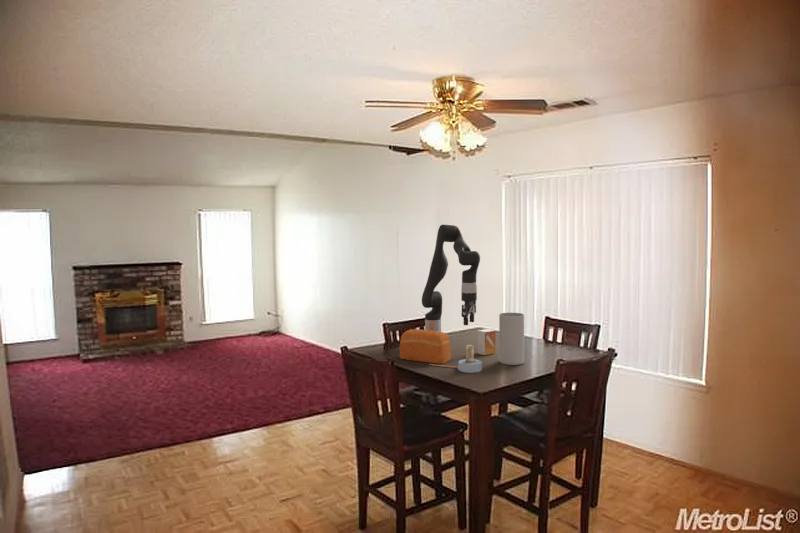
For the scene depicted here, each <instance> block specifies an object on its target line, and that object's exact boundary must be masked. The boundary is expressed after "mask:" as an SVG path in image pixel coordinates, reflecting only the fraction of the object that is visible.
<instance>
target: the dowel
mask: <svg viewBox="0 0 800 533" xmlns="http://www.w3.org/2000/svg"><path fill="white" fill-rule="evenodd" d="M474 350H475V349H474V345H472V344H467V345H465V353H466V354H465V359H466V363H474V359H475V358H474Z"/></svg>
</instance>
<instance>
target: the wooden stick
mask: <svg viewBox="0 0 800 533" xmlns="http://www.w3.org/2000/svg"><path fill="white" fill-rule="evenodd" d="M428 364H429V366H431V365H432V367H443V368H452V369H458V366H456V365H454V366H453V365H445V364H443V365H442V364H437V363H428Z"/></svg>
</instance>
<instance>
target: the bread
mask: <svg viewBox="0 0 800 533" xmlns="http://www.w3.org/2000/svg"><path fill="white" fill-rule="evenodd" d="M451 356H452V354H451V342H450V336H449V335H448V334H447V333H446V332H442V331H441V332H437V331H430V330H425V329H416V328H415V329H412V328H411V329H408V330H406V331H404V332H403V333H402V335H401V336H400V342H399V359H401V360H405V359H406V361H413V362H414V361H415V362H421V363H428V364H445V363H447V362H449V361H450V360H451V358H452V357H451Z"/></svg>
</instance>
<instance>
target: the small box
mask: <svg viewBox="0 0 800 533" xmlns="http://www.w3.org/2000/svg"><path fill="white" fill-rule="evenodd" d="M476 338H477V339H476V340H477V345H476V346H477V354H478V355H482V356H489V355H495V354H496V330H495V329H490V328H485V329H484V328H483V329H480V330H479V329H478V330H477V336H476Z"/></svg>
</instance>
